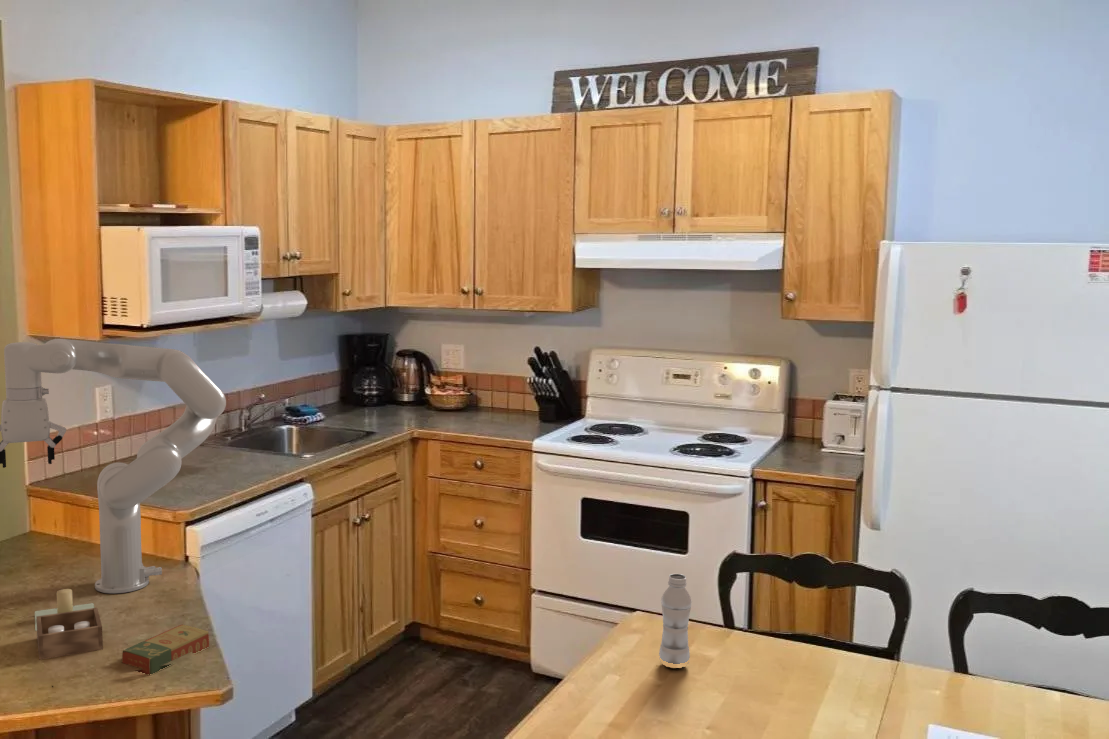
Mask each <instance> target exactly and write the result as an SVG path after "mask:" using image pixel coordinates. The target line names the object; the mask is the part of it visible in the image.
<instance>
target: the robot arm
mask: <svg viewBox="0 0 1109 739" xmlns="http://www.w3.org/2000/svg"><path fill="white" fill-rule="evenodd" d="M3 356H4V358H3V359H4V374H5V377H4V380H5V396H6V397H5V399H4V400H2V404H1V417H0V418H1V420H0V432H1V437H2V438H1V439H2V440H1V441H0V465H2V468H3V469H4V468H6V467H7V457H6V452H7V451H6V449H5V448H6V447H7V446H8V444H12V443H13V444H14V443H16V444H17V443H32V442H42V441H44V442H45V443H46V444H47V448H46V451H47V462H48V463H47V464H49V465H52V464H53V462H52V461H54V460H55V447H56V446H57V445H58V444H59V443H60V442H61V441H62V440H63V437H65V434H66V432H67V428H66V426H62V425H59V424H58V423H54V422H52V421H50V416H49V410H48V409H49V408H48V404H47V400H46V399H47V398H45V397H44V396H46V395H49V394H50V393H49V392H50V390H49V388H45V387H42V386H43V385H42V383H43V382H42V373H46V374H47V373H48V374H65V373H67V372H70V371H72V370H73V371H75V370H76V371H87V372H94V373H98V374H102V375H106V376H108V377H111V378H115V379H120V380H121V379H122V380H137V381H150V382H159V383H163V382H164V383H166V385H167V386H168V387H169V388H170V389H171V390H172V391H173V393H175V394H176V396H178V398H179V399H180V400H181V401H182V402H183V403H185V404H184V405H185V408H184V412H183V414H182V415H181V416H180V417H179V418H178V419H177V420H175V422H173V423H172V424H171V425H169V426H168V427H167V428H164V430H162V431H160V432H159V433H158V434H156V435H155V436H153V437H152V438H150V439H148V440H147V441H145V442H144V443H143V444H142V445H141V446H140V447H139V449H138V450H137V453H136V458H135V459H134V460H133V461H130V463H125V462H112V463H110V464H108V465H107V466H105V467H104V468H103V469H102V470H101V471H100V473H99V475H98V478H97V480H96V482H97V483H96V486H97V500H98V501H97V502H98V503H97V504H98V516H99V544H100V545H99V547H100V573H101V576H100V577H101V578H99V579H98V580H96V581H95V583H94V589H95V591H97V592H99V593H104V594H124V593H129V592H130V593H131V592H134V591H139V590H141V589H142V588H145V587H147V585H149V583H150V578H149V577H150V576H160V575H161V576H162V574H163V569H162V566H158V567H156V565H152V566H151V565H150V566H144V563H143V559H142V557H143V556H142V529H141V528H142V518H141V517H142V516H141V514H142V513H141V503H142V502H143V501H145V500H146V499H148V498H149V497H150V496H152V495H153V494H155V493H156V492H157V491H159V490H160V489H161V488H163V487H165V486H166V485H167V484H168V483H170V482H171V481H172V480H173V479H175V477H176V476H178V474H179V472H180V470H181V469H182V468H181V467H182V462H183V461H182V459H183V458H185V457H186V456H187V455H189V454H190V453H191V452H193V451H194V450H195V449H196V448H198V447H199V446H200V445H201V444H203V443H204V442H205V441H206V440H207V439H208V437H210V435H211V434H212V432H213V431H214V428H215V425H216V423H217V421H218V417H219V416H220V415H222V413H223V412H224V411H225V409H226V406H227V398H226V395H225V394H224V392H223V390H221V389H220V388H219V387H218V386H217V385H216V384H215V383H214V381H212V380H211V378H210V377H209V376H208V375H206V373H205V372H204V371H203V370H202V369H201V368H200V367H199V366H198V365H197V363H196V362H195V361H194V360H193V359H192V358H191V356H189V355H188V354H186V353H185V352H184V351H181V350H179V349H174V348H164V347H154V346H153V347H152V346H143V345H141V346H140V345H131V344H130V345H129V344H122V343H121V344H120V343H107V342H99V341H98V342H97V341H89V340H77V339H69V338H68V339H67V338H66V339H65V338H54V339H50V340H48V341H46V342H45V343H44V344H37V343H35V342H31V341H29V342H27V341H22V342H11V343H8V344H6V345H5V346H4V348H3ZM51 429H52V430H55V431H58V432H57V435H55V437H54V438H53V439H52V438H51V436H50V434H51V431H50V430H51Z"/></svg>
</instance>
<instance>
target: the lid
mask: <svg viewBox="0 0 1109 739" xmlns="http://www.w3.org/2000/svg"><path fill="white" fill-rule="evenodd" d="M56 606H57V607H56V608H49V609H42V610H36V611H34V628H35V629H34V631H35V632H37V618H36V616H43V615H50V614H57V613H64V612H70V611H77V610H84V609H91V608H95V604H94V603H93V602H91V603H85V604H75V605H73V589H71V588H62V589H60V590H57V591H56Z"/></svg>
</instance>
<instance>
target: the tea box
mask: <svg viewBox="0 0 1109 739" xmlns="http://www.w3.org/2000/svg"><path fill="white" fill-rule="evenodd" d="M36 618H37V631H36V637H37V648H38V658H39V659H38V660H45V659H52V658H58V657H64V656H70V655H71V656H72V655H76V654H83V653H88V652H94V651H99V650H103V649H104V641H103V638H104V637H103V625H102V624H103V623H102V620H101V616H100V614H99V609H98V607H94V608H91V609H84V610H77V611H70V612H64V613H57V614H50V615H43V616H36ZM82 621H88V622H90V627H87V628H81V629H74V624H75V623H78V622H82ZM55 625H62V626H64V631H61V632H55V633H48V628H49V627H52V626H55Z"/></svg>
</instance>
